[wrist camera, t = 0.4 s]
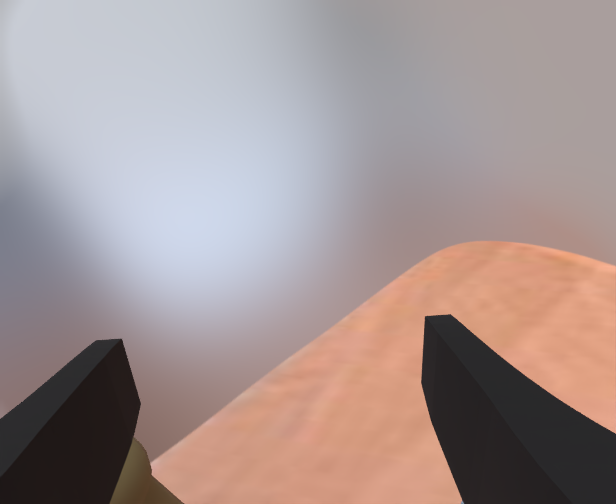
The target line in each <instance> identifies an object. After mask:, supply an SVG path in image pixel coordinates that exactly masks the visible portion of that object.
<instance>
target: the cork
mask: <svg viewBox="0 0 616 504" xmlns="http://www.w3.org/2000/svg"><path fill="white" fill-rule="evenodd" d="M151 473H152V469H151V465H150V462H149V459H148V455H147V452H146V450H145V449H144V447H143V446H142V444H141V443H140V442H139V441H137V440H136V439H135V438H134V437H133V441H132V444H131V447H130V450H129V453H128V456H127V458H126V461H125V464H124V467H123V469H122V472H121V475H120V477H119V480H118V483H117V485H116V488H115V491H114V493H113V496H112V499H111V501H110V504H184V503H183V502H181V501H180V500H179V499H178V498H177V497H176V496H175V495H173V494H172V493H171V492H170V491H169V490H168V489H167V488H166V487H164V486H163V485H162V484H161V483H160V482H159V481H158V480H156V479H155V478H154V477H153V476H152V475H151Z"/></svg>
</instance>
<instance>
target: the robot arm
mask: <svg viewBox="0 0 616 504" xmlns="http://www.w3.org/2000/svg"><path fill="white" fill-rule="evenodd" d="M421 384H422V388H423V392H424V396H425V400H426V404H427V407H428V411H429V415H430V418H431V422H432V425H433V427H434V430H435V432H436V435H437V437H438V440H439V443H440V445H441V448H442V450H443V453H444V455H445V458H446V460H447V463H448V465H449V468H450V470H451V473H452V475H453V478H454V480H455V483H456V485H457V488H458V490H459V493H460V495H461V498H462V500H463V503H464V504H616V434H615V433H613V432H612V431H610V430H608V429H606V428H605V427H603V426H601V425H599V424H598V423H596V422H594V421H593V420H591V419H589V418H588V417H586V416H584V415H583V414H581V413H580V412H578V411H576V410H575V409H573V408H571V407H570V406H568V405H567V404H565V403H564V402H562V401H560V400H559V399H557V398H556V397H554V396H553V395H551V394H550V393H549V392H547V391H546V390H544V389H543V388H542V387H540V386H539V385H537V384H536V383H535V382H533V381H532V380H530V379H529V378H528V377H526V376H525V375H524V374H522V373H521V372H520V371H518V370H517V369H516V368H514V367H513V366H512V365H511V364H509V363H508V362H507V361H506V360H504V359H503V358H502V357H501V356H499V355H498V354H497V353H496V352H494V351H493V350H492V349H491V348H490V347H488V346H487V345H486V344H485V343H484V342H482V341H481V340H480V339H479V338H478V337H477V336H475V335H474V334H473V333H472V332H471V331H470V330H468V329H467V328H466V327H465V326H464V325H463V324H461V323H460V322H459V321H458V320H457V319H456V318H454V317H453V316H452V315H451V314H450V315H436V316H425V326H424V344H423V362H422V380H421ZM140 405H141V403H140V399H139V396H138V392H137V389H136V386H135V382H134V379H133V375H132V372H131V368H130V365H129V362H128V358H127V355H126V352H125V348H124V345H123V341H122V339H111V340H97V341H95V342H94V343H92V344H91V345H90V346H88V347H87V348H86V349H85V350H83V351H82V352H81V353H80V354H79V355H77V356H76V357H75V358H74V359H73V360H71V361H70V362H69V363H68V364H67V365H65V366H64V367H63V368H62V369H61V370H60V371H59V372H57V373H56V374H55V375H54V376H53V377H51V378H50V379H49V380H48V381H47V382H45V383H44V384H43V385H42V386H41V387H40V388H38V389H37V390H36V391H35V392H34V393H32V394H31V395H30V396H29V397H28V398H26V399H25V400H24V401H23V402H21V403H20V404H19V405H17V406H16V407H15V408H14V409H12V410H11V411H10V412H9V413H8V414H6V415H5V416H4V417H2V418H1V419H0V504H110V501H111V499H112V496H113V493H114V491H115V488H116V485H117V483H118V480H119V477H120V475H121V472H122V469H123V467H124V464H125V461H126V458H127V456H128V453H129V450H130V447H131V444H132V441H133V436H134V432H135V428H136V424H137V419H138V414H139V410H140Z"/></svg>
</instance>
